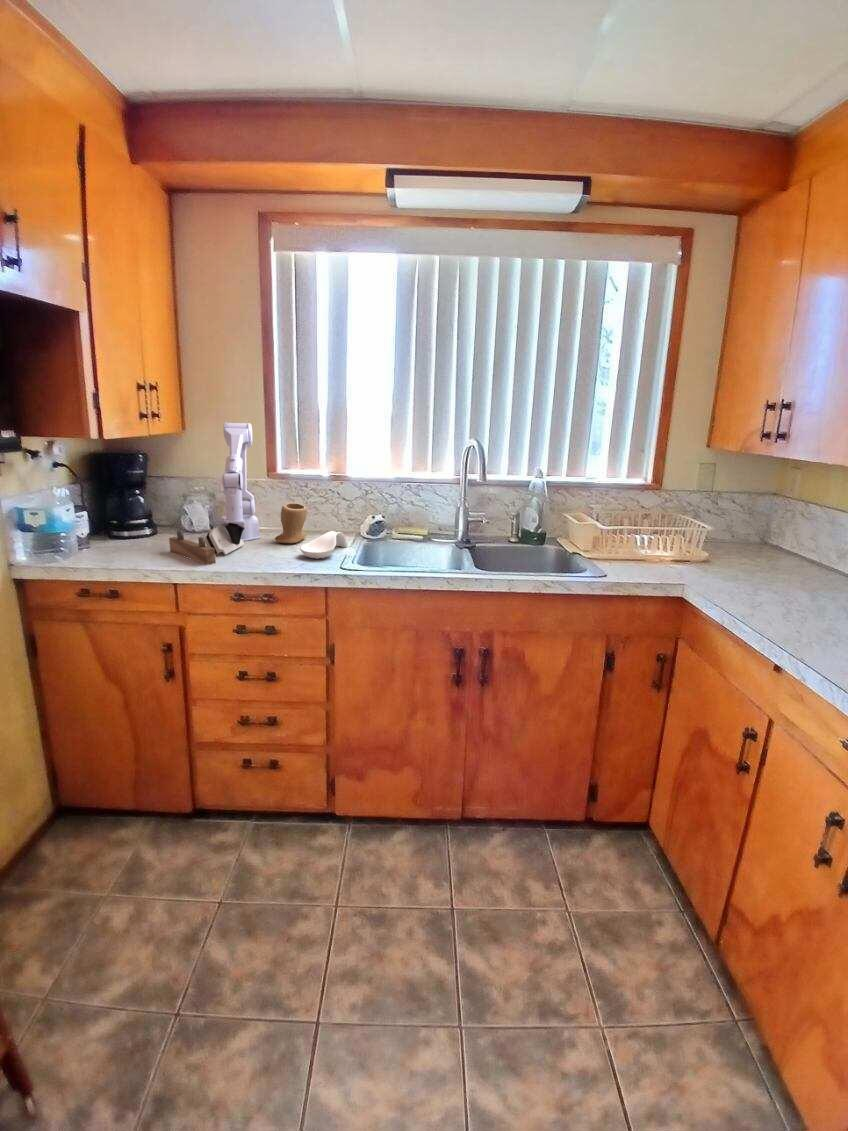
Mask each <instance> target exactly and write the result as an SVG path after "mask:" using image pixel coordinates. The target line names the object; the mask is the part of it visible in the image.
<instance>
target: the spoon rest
mask: <svg viewBox="0 0 848 1131" xmlns="http://www.w3.org/2000/svg"><path fill="white" fill-rule="evenodd" d="M338 546H341V547H340V548H348V541H347V539H346V536H345V534H344V533H343V532H340V531H337V532H336V531H335V530H334V531H333V530H331V531H327V532H325V533H324V534H322V535H320V536H318V537H317V538H314V539H312V540H310V541H308V542H305V543H304V544H302V545H301V546H300V548H299V549H300V551H301V553H302V554H303V555H304V556H306V557H307V558H310V559H313V558H315V559H316V560H320V559H319V558H322V559H326V558H328V557H329V556H330V555H331V554H332V553H333V551H334V549H335V548H336V547H338ZM325 557H326V558H325ZM315 559H314V560H315Z"/></svg>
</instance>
